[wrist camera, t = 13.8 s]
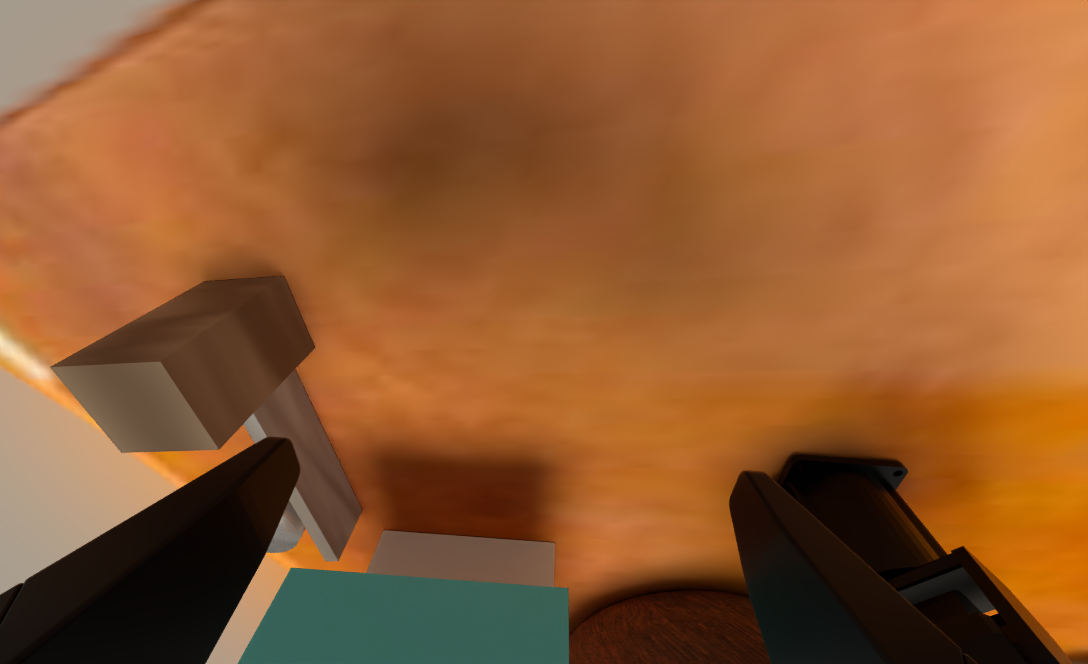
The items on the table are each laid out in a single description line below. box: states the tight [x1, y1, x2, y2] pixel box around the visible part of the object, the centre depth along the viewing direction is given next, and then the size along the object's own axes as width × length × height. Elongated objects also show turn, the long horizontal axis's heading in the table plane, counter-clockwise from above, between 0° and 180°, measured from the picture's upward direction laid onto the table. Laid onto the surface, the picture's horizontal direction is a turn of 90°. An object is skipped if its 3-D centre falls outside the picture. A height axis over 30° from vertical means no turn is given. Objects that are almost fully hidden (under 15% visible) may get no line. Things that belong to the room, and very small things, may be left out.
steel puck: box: [267, 501, 306, 553], centre depth 27 cm, size 5×5×3 cm
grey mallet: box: [50, 276, 362, 561], centre depth 21 cm, size 4×17×7 cm, turn 5°
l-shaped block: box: [238, 530, 569, 664], centre depth 23 cm, size 12×15×12 cm
